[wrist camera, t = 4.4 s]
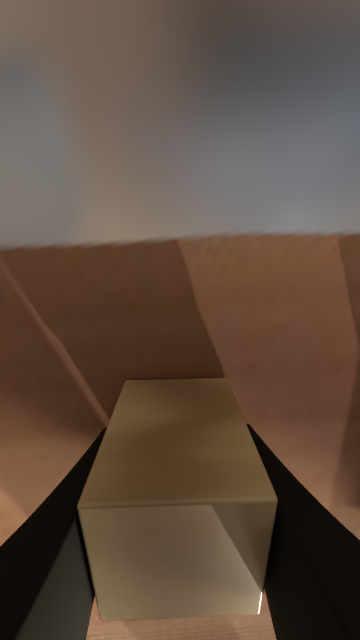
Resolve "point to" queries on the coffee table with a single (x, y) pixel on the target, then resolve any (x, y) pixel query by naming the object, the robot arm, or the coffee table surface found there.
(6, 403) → the coffee table surface
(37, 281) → the coffee table surface
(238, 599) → the block
